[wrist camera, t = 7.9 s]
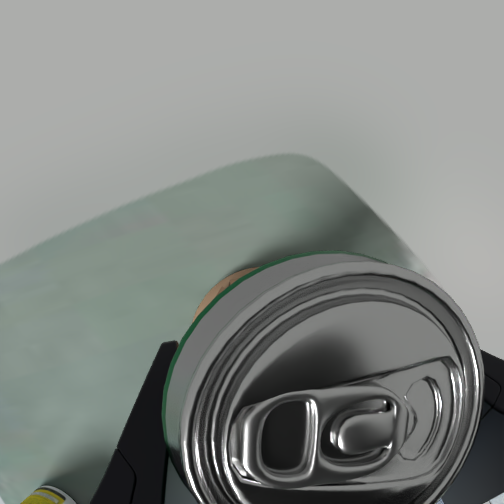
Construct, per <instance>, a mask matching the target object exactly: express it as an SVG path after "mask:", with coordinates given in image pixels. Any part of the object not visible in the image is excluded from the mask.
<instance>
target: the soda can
mask: <svg viewBox="0 0 504 504" xmlns="http://www.w3.org/2000/svg"><path fill="white" fill-rule="evenodd" d="M484 394H485V378H484V365H483V361H482V356H481V352H480V347H479V344H478V342H477V339H476V336H475V334H474V331H473V329H472V327H471V325H470V323H469V322H468V320H467V318H466V316H465V315H464V313H463V311H462V310H461V309H460V307H459V306H458V305H457V304H456V303H455V301H454V300H453V299H452V298H451V297H450V296H449V295H448V294H447V293H446V292H445V291H444V290H442V289H441V288H440V287H439V286H438V285H436V284H435V283H434V282H432V281H431V280H429V279H427V278H425V277H423V276H422V275H420V274H418V273H416V272H414V271H411V270H408V269H405V268H402V267H399V266H396V265H392V264H388V263H386V262H384V261H382V260H379V259H376V258H373V257H370V256H367V255H364V254H359V253H352V252H345V251H312V252H307V253H301V254H296V255H290V256H287V257H284V258H281V259H279V260H276V261H273V262H270V263H267V264H265V265H262V266H261V267H259V268H257V269H255V270H253V271H251V272H250V273H248V274H246V275H244V276H242V277H240V278H239V279H237V280H236V281H235V282H234V283H232V284H231V285H230V286H228V287H227V288H226V289H224V290H223V291H222V292H221V293H219V294H218V295H217V296H216V297H215V298H214V299H213V300H212V301H211V302H210V303H209V304H208V305H207V306H206V307H205V308H204V309H203V310H202V312H201V313H200V314H199V315H198V316H197V317H196V319H195V320H194V322H193V323H192V325H191V326H190V328H189V329H188V330H187V332H186V333H185V335H184V336H183V338H182V340H181V342H180V344H179V346H178V348H177V350H176V352H175V355H174V357H173V359H172V361H171V363H170V367H169V371H168V374H167V378H166V382H165V386H164V390H163V402H162V424H163V433H164V440H165V443H166V447H167V450H168V453H169V457H170V460H171V462H172V464H173V466H174V468H175V470H176V472H177V474H178V476H179V478H180V479H181V481H182V483H183V484H184V485H185V487H186V488H187V489H188V490H189V492H190V493H191V494H192V495H193V496H194V498H195V500H196V501H197V503H198V504H436V503H437V502H438V501H439V499H440V498H441V497H442V496H443V495H444V493H445V492H446V491H447V490H448V488H449V487H450V486H451V485H452V483H453V482H454V480H455V479H456V477H457V476H458V474H459V472H460V471H461V469H462V468H463V466H464V464H465V462H466V460H467V458H468V456H469V454H470V452H471V449H472V447H473V445H474V442H475V439H476V436H477V433H478V430H479V427H480V422H481V417H482V412H483V407H484Z"/></svg>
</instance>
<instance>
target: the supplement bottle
mask: <svg viewBox="0 0 504 504" xmlns="http://www.w3.org/2000/svg"><path fill="white" fill-rule="evenodd" d="M21 504H76V503H75V501H74V500H73V499H72V498H71V497H69V496H68V495H67V494H66V493H64V492H63V491H61V490H60V489H58V488H55V487H52V486H41V487H39V488H38V489H36V490H35V491H34V492H33V493H32V494H31V495H30V496H29V497H27V498H26V499H25V500H24V501H23V502H22V503H21Z"/></svg>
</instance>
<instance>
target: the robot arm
mask: <svg viewBox="0 0 504 504" xmlns="http://www.w3.org/2000/svg"><path fill="white" fill-rule="evenodd" d="M178 346H179V344H178V342H177V341H175V340H174V341H169V342H164V343H162V344H161V346H160V348H159V350H158V352H157V355H156V357H155V359H154V361H153V363H152V366H151V368H150V370H149V372H148V375H147V377H146V379H145V381H144V384H143V386H142V388H141V390H140V393H139V395H138V397H137V399H136V402H135V404H134V406H133V409H132V411H131V413H130V416H129V418H128V420H127V423H126V425H125V427H124V430H123V432H122V435H121V437H120V439H119V442H118V444H117V448H118V449H115V451H114V454H113V456H112V459H111V461H110V463H109V465H108V468H107V470H106V472H105V475H104V477H103V479H102V481H101V483H100V485H99V487H98V489H97V490H96V492H95V494H94V496H93V498H92V500H91V502H90V503H89V504H198V503H197V501H196V500H195V498H194V496H193V495H192V494H191V493H190V492H189V490H188V489H187V488H186V487H185V485H184V484H183V483H182V481H181V479H180V478H179V476H178V474H177V472H176V470H175V468H174V466H173V464H172V462H171V460H170V457H169V453H168V450H167V447H166V443H165V440H164V433H163V424H162V402H163V390H164V386H165V382H166V378H167V374H168V371H169V367H170V363H171V361H172V359H173V357H174V355H175V352H176V350H177V348H178ZM480 352H481V356H482V361H483V365H484V378H485V394H484V407H483V412H482V417H481V422H480V427H479V430H478V433H477V436H476V439H475V442H474V445H473V447H472V449H471V452H470V454H469V456H468V458H467V460H466V462H465V464H464V466H463V468H462V469H461V471H460V472H459V474H458V476H457V477H456V479H455V480H454V482H453V483H452V485H451V486H450V487H449V488H448V490H447V491H446V492H445V493H444V495H443V496H442V497H441V498H442V500H443V502H444V504H483V503H485V502H487V501H489V502H490V504H504V360H502V359H499V358H497V357H495V356H493V355H491V354H489V353H487V352H485V351H483V350H481V349H480Z"/></svg>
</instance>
